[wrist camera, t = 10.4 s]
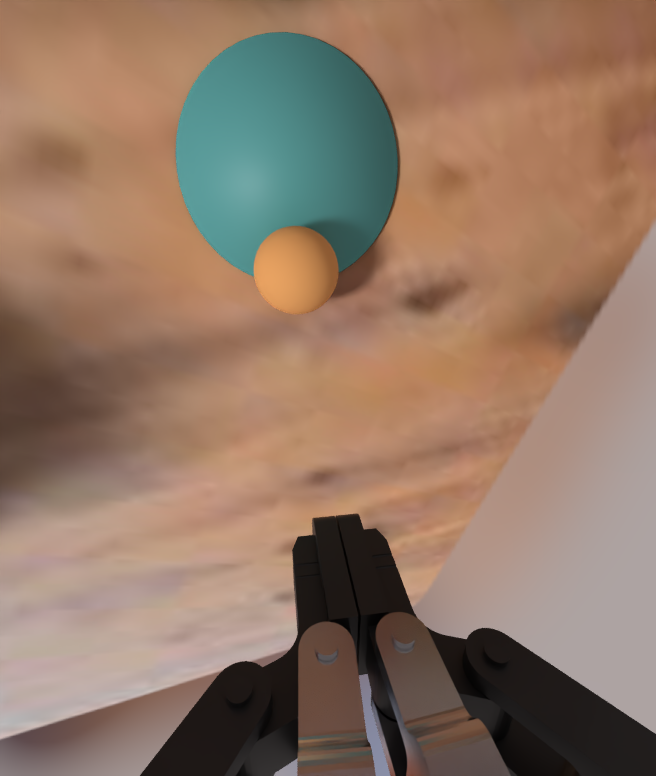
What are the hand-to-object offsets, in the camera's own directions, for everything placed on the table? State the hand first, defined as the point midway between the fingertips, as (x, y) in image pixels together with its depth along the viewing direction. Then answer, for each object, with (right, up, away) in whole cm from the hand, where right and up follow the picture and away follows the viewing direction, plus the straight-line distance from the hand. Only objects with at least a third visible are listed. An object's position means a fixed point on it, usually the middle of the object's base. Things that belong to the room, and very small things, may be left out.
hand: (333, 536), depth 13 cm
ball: (-2, +12, +10) cm, 16 cm away
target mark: (-2, +18, +11) cm, 21 cm away
